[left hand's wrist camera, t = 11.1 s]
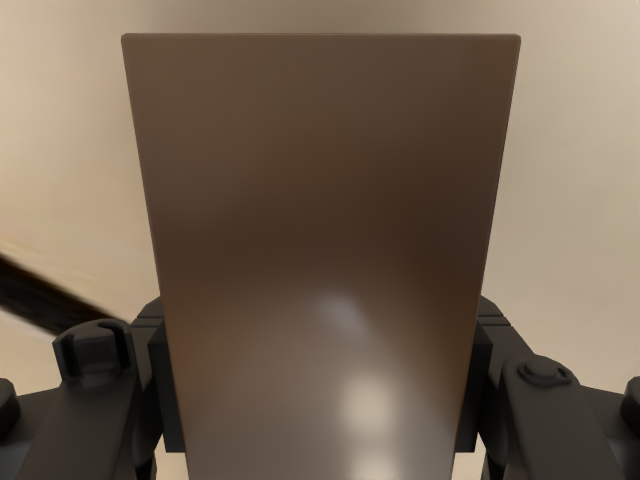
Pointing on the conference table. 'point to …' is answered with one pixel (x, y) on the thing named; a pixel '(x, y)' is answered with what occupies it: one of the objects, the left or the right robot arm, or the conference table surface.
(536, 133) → the conference table surface
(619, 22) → the conference table surface
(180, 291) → the post
